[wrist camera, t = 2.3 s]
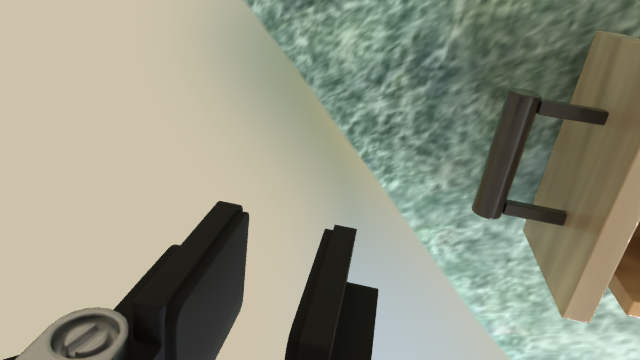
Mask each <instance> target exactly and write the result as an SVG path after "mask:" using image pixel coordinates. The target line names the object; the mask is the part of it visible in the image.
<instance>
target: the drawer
mask: <svg viewBox="0 0 640 360" xmlns="http://www.w3.org/2000/svg"><path fill="white" fill-rule="evenodd" d="M536 113H537V114H538V115H544V116H550V117H555V118H561V119H564V120H563V123H562V126H561V128H560V131H559V134H558V136H557V139H556V142H555V145H554V147H553V150H552V153H551V155H550V158H549V161H548V164H547V166H546V169H545V172H544V174H543V177H542V180H541V183H540V185H539V188H538V191H537V193H536V196H535V199H534V201H533V204H528V203H523V202H518V201H512V200H507V197H508V194H509V191H510V188H511V186H512V183H513V180H514V177H515V174H516V171H517V168H518V165H519V162H520V159H521V156H522V153H523V150H524V147H525V144H526V142H527V139H528V136H529V133H530V130H531V127H532V124H533V121H534V118H535V115H536ZM472 210H473V212H474V213H476V214H477V215H479V216H481V217H484V218H487V219H498V218H500V217H501V215H502V212H503V214H504V215H509V216H514V217H519V218H524V219H527V220H526V223H525V226H524V229H523V231H524V233H525V236H526V238H527V240H528V242H529V245H530V247H531V249H532V251H533V254H534V256H535V258H536V260H537V263H538V265H539V267H540V269H541V272H542V274H543V276H544V278H545V281H546V283H547V285H548V287H549V290H550V292H551V294H552V297H553V299H554V301H555V303H556V306H557V308H558V310H559V312H560V315H561V317H562V318H566V319H571V320H575V321H580V322H584V323H590V321H591V319H592V317H593V315H594V313H595V311H596V309H597V307H598V305H599V303H600V301H601V299H602V297H603V294H604V292H605V290H606V288H607V286H608V287H609V289H610V290H611V292H612V293H613V295H614V296H615V298H616V300H617V301H618V303H619V304H620V306H621V307H622V309H623V311H624V312H625V314H626V315H629V316H633V317H638V318H640V39H639V38H635V37H631V36H627V35H624V34H619V33H612V32H606V31H599V30H598V31H596V34H595V36H594V39H593V42H592V44H591V47H590V50H589V53H588V55H587V58H586V61H585V63H584V66H583V69H582V72H581V74H580V77H579V80H578V82H577V85H576V88H575V90H574V93H573V96H572V99H571V101H570V104H569V103H563V102H557V101H551V100H545V99H541V96H540V95H539V94H537V93H535V92H532V91H528V90H523V89H509V90H508V91H507V94H506V97H505V101H504V104H503V107H502V110H501V114H500V117H499V120H498V123H497V127H496V130H495V133H494V137H493V140H492V143H491V146H490V150H489V153H488V156H487V159H486V163H485V166H484V169H483V172H482V176H481V179H480V182H479V185H478V189H477V192H476V195H475V198H474V202H473V205H472Z"/></svg>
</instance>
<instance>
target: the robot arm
mask: <svg viewBox="0 0 640 360" xmlns="http://www.w3.org/2000/svg"><path fill="white" fill-rule="evenodd" d="M248 226H249V214H248V213H247V212H243V208H242V206H241V205H237V204H232V203H227V202H222V201H219V202H217V204H216V205H215V206H214V207H213V208H212V209H211V211H210V212H209V213H208V214H207V215H206V216H205V217H204V219H203V220H202V221H201V222H200V223H199V224H198V226H197V227H196V228H195V229H194V230H193V231H192V233H191V234H190V235H189V236H188V237H187V238H186V240H185V241H184V242H183V243H182V244H181V245H172V246H171V247H169V248H168V249H167V251H166V252H165V253H164V254H163V255H162V256H161V257H160V258H159V260H158V261H157V262H156V263H155V264H154V265H153V266H152V268H150V270H149V271H148V272H147V273H146V274H145V275H144V276H143V277H142V278H141V280H140V281H139V282H138V283H137V284H136V285H135V286H134V287H133V289H132V290H131V291H130V292H129V293H128V295H126V296H125V297H124V299H123V300H122V301H121V302H120V303H119V304H118V305H117V306H116V308H115V309H114V310H111V309H107V308H98V307H97V308H87V309H82V310H78V311H74V312H71V313H69V314H67V315H65V316H63V317H61V318H59V319H58V320H57V321H55V322H54V323H53V324H51V325H50V326H49V327H48V328H47V329H46V330H45V331H44V332H43V333H42V334H41V335H40V336H39V337H38V338H37V339H36V340H34V341H33V342H32V343H31V344H30V345H29V346H28V347H27V348H26V349H25V350H24V351H23V352H22V353H21V354H20V355H17V356H14V357H10V358H7V359H4V360H215V359H216V357H217V355H218V353H219V351H220V349H221V347H222V345H223V343H224V341H225V339H226V338H227V335H228V334H229V331H230V330H231V328H232V326H233V324H234V322H235V320H236V318H237V316H238V314H239V312H240V309H241V306H242V302H243V292H244V279H245V265H246V252H247V239H248ZM356 231H357V229H354V228H349V227H344V226H339V225H335V226H334V229H333V230H329V229H325V231H324V234H323V236H322V239H321V242H320V245H319V248H318V251H317V254H316V257H315V260H314V263H313V266H312V269H311V272H310V274H309V277H308V280H307V283H306V286H305V289H304V292H303V295H302V298H301V301H300V304H299V307H298V310H297V312H296V316H295V319H294V321H293V324H292V327H291V331H290V334H289V338H288V343H287V348H286V354H285V360H371V356H372V347H373V337H374V327H375V317H376V308H377V298H378V289H376V288H371V287H367V286H363V285H358V284H353V283H349V282H347V278H348V272H349V267H350V262H351V257H352V252H353V247H354V241H355V235H356Z"/></svg>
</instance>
